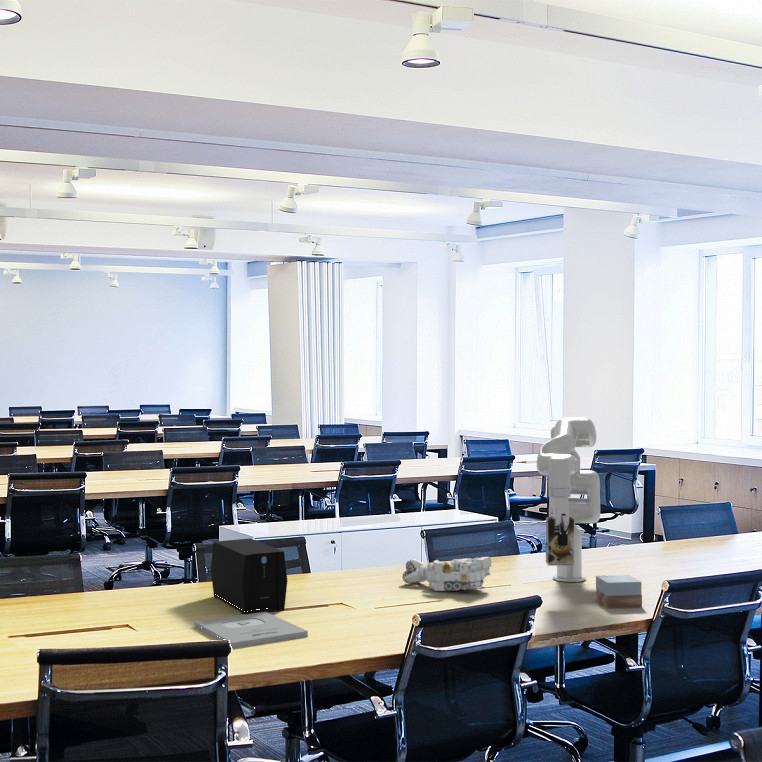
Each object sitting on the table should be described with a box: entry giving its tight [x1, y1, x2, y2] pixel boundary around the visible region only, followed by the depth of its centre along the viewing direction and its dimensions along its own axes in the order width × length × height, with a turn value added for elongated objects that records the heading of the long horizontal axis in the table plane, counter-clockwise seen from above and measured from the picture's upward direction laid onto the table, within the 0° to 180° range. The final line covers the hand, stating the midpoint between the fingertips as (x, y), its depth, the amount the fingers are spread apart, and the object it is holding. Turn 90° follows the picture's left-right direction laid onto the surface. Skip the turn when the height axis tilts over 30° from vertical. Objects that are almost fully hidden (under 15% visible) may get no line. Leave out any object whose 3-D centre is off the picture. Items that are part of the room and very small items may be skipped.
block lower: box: [595, 588, 643, 609], centre depth 339 cm, size 12×12×4 cm
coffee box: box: [545, 516, 575, 567], centre depth 341 cm, size 9×6×16 cm
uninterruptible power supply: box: [210, 538, 288, 615], centre depth 345 cm, size 16×34×20 cm, turn 28°
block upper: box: [595, 574, 643, 596], centre depth 340 cm, size 12×12×4 cm
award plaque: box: [194, 612, 309, 650], centre depth 305 cm, size 25×30×2 cm
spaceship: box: [402, 556, 493, 592], centre depth 366 cm, size 16×35×12 cm, turn 59°
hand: (559, 543), depth 341 cm, fingers closed on coffee box, 6 cm apart
